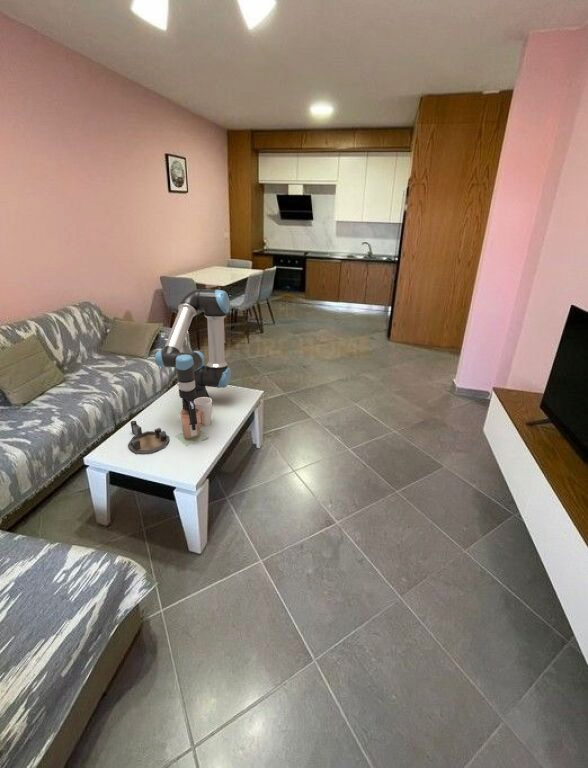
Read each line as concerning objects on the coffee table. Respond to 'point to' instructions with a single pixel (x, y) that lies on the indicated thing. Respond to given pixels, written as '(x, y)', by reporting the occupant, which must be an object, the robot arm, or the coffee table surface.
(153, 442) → the base plate
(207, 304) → the robot arm
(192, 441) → the mat
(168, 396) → the coffee table surface
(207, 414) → the foam cup
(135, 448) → the collar
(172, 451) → the coffee table surface
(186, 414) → the terracotta mug
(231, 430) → the coffee table surface
